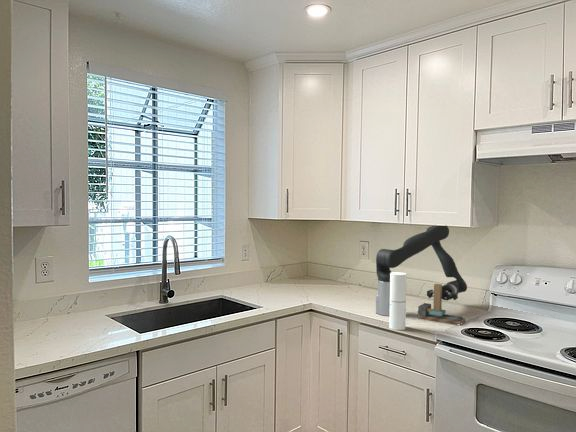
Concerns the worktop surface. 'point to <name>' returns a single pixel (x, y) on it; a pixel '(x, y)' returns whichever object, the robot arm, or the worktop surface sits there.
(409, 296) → the worktop surface
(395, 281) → the cylindrical container
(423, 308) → the rail bed
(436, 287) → the post
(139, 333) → the worktop surface
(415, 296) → the worktop surface
